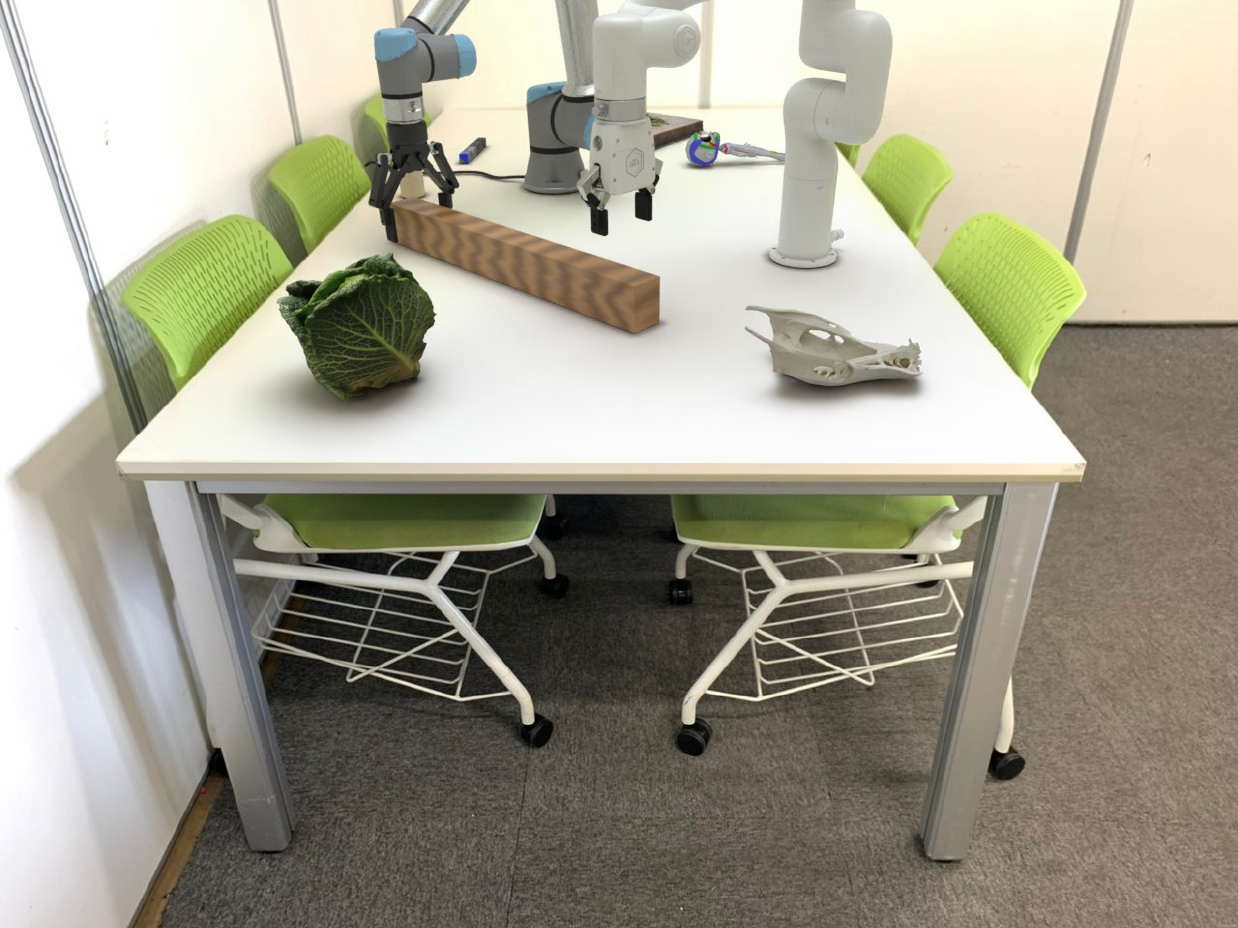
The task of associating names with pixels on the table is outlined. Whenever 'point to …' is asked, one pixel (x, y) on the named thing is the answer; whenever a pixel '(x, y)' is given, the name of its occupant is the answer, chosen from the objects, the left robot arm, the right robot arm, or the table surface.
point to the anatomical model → (832, 351)
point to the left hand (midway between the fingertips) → (420, 233)
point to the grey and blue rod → (472, 150)
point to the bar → (532, 264)
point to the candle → (412, 185)
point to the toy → (721, 149)
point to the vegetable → (360, 325)
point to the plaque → (672, 128)
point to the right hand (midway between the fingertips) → (622, 226)
